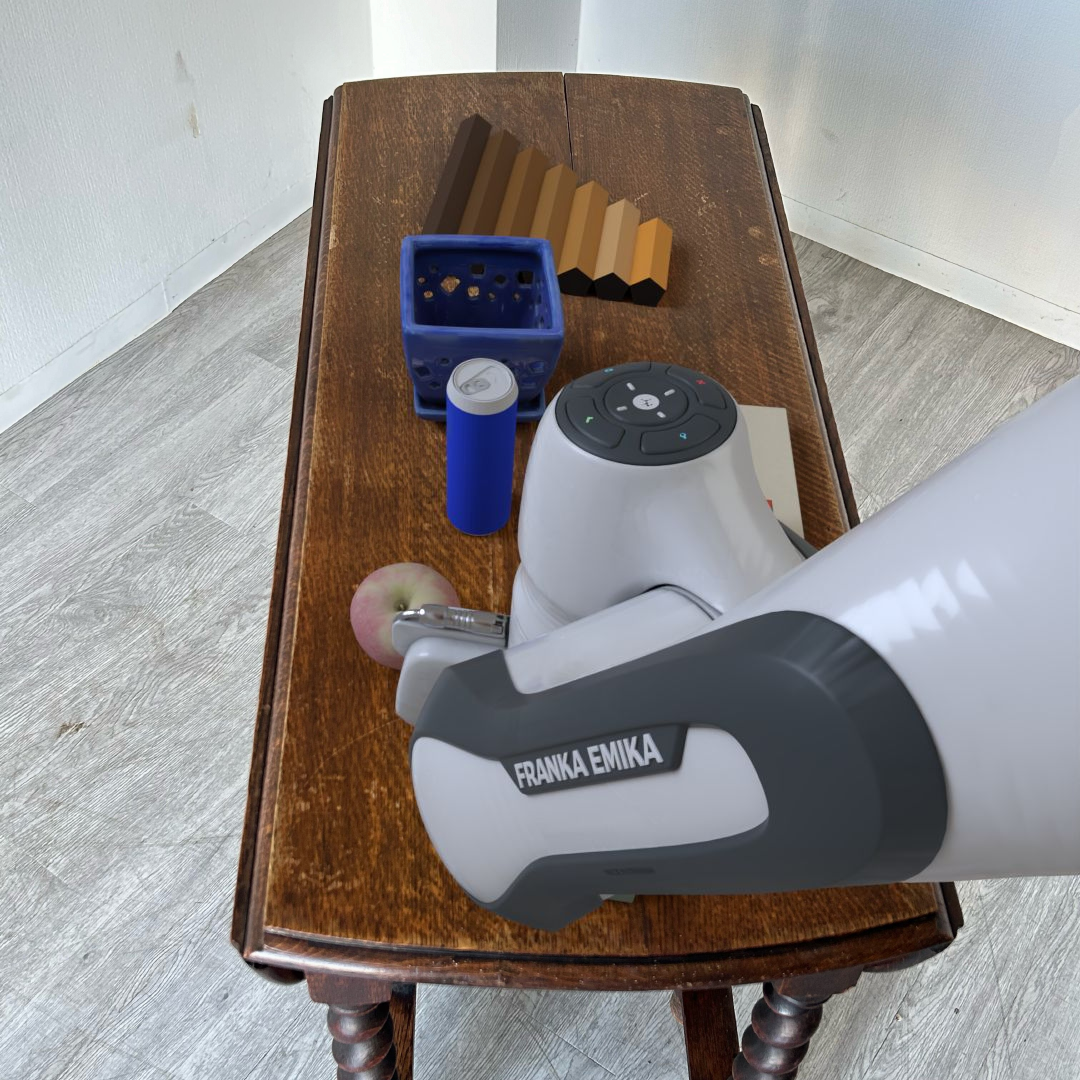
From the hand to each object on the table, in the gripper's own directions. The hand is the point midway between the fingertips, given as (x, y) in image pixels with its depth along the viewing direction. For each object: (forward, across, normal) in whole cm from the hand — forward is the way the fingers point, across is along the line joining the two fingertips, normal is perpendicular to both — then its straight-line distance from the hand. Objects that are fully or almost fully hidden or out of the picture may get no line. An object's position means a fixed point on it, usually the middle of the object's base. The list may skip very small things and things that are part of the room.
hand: (572, 766), depth 65 cm
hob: (+11, +12, +32) cm, 35 cm away
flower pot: (+11, -13, +42) cm, 45 cm away
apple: (+11, -13, +13) cm, 21 cm away
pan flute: (+12, -9, +69) cm, 71 cm away
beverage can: (+11, -10, +27) cm, 31 cm away
